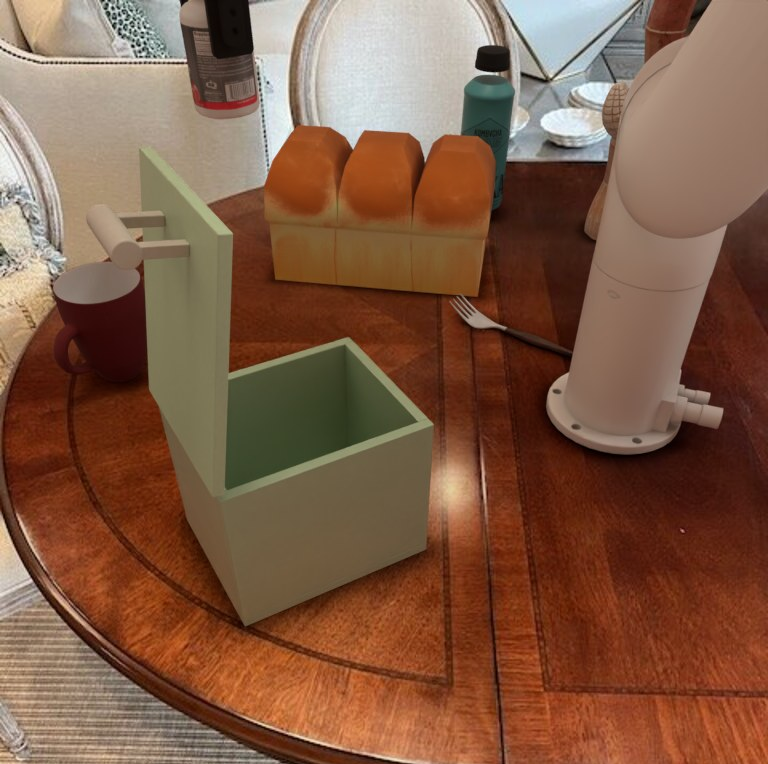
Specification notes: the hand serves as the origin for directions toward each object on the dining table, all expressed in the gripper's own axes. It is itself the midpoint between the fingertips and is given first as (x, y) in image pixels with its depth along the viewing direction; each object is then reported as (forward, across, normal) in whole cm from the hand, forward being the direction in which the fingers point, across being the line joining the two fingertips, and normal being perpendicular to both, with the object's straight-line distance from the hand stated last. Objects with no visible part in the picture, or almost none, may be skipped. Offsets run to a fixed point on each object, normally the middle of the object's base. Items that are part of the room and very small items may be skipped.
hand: (218, 43), depth 61 cm
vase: (+30, +4, -52) cm, 60 cm away
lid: (+8, -26, +13) cm, 30 cm away
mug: (+29, +4, +15) cm, 33 cm away
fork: (+30, -9, -26) cm, 40 cm away
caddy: (+29, -25, +7) cm, 39 cm away
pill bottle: (+5, 0, 0) cm, 5 cm away
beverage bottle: (+29, +18, -39) cm, 52 cm away
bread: (+29, +12, -21) cm, 38 cm away
